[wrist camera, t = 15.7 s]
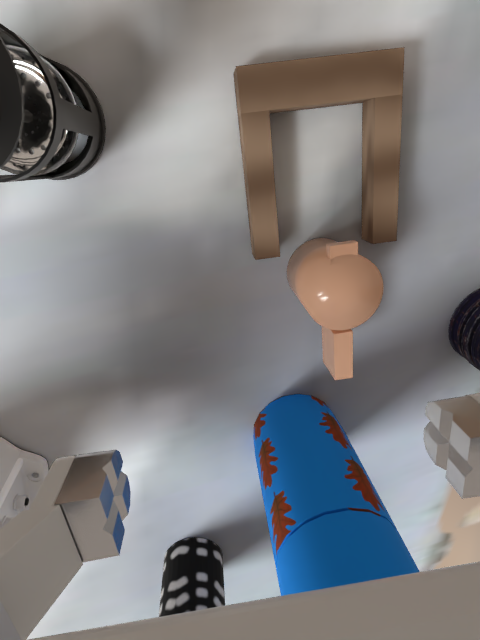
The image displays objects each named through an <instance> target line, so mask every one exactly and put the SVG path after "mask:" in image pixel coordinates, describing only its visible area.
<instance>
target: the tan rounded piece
mask: <svg viewBox="0 0 480 640" xmlns="http://www.w3.org/2000/svg"><path fill="white" fill-rule="evenodd" d="M287 280H288V283H289V286H290V288H291V289H292V291H293V292H294V293H295V295H296V296H297V298H298V299H299V300H300V302H301V303H302V304H303V306H304V307H305V309H306V310H307V311H308V313H309V314H310V315H311V317H312V318H313V319H314V320H315V321H316V322H317V323H318V324H319V325H321V326H322V348H323V362H324V364H325V365H326V367H327V368H328V370H329V372H330V373H331V375H332V376H333V378H334V380H340V379H347V378H353V331H352V330H351V328H355V327H357V326H359V325H361V324H362V323H364V322H365V321H367V320H368V319H369V318H370V317H371V316H372V315H373V314H374V312H375V311H376V310H377V308H378V306H379V304H380V302H381V299H382V295H383V280H382V276H381V274H380V272H379V270H378V268H377V267H376V266H375V265H374V264H373V263H372V262H371V261H370V260H368V259H367V258H365V257H363V256H361V255H359V254H358V242H357V241H355V240H351V241H343V242H336V241H334V240H332V239H328V238H316V239H312V240H309V241H307V242H305V243H304V244H302V245H301V246H300V247H298V248H297V249H296V250H295V252H294V253H293V254H292V256H291V258H290V260H289V263H288V266H287Z"/></svg>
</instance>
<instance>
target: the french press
mask: <svg viewBox="0 0 480 640" xmlns="http://www.w3.org/2000/svg"><path fill="white" fill-rule="evenodd" d="M70 89H71V90H72V91H73V92H74V93H75V94H76V95H77V96H78V98H79V99H80V100H81V102H82V104H83V106H84V108H85V109H83V108H81V107H79V106H77V105H76V103H75V100H74V96H73V94H72V92H71V90H70ZM105 130H106V128H105V120H104V115H103V112H102V109H101V105H100V103H99V101H98V99H97V97H96V95H95V94H94V92H93V91H92V89H91V88H90V87H89V85H88V84H87V83H86V82H85V81H84V80H83V79H82V78H81V77H80V76H79V75H78V74H76V73H75V72H73V71H72V70H71V69H69V68H68V67H66V66H64V65H61V64H59V63H57V62H54V61H53V60H50V59H48V58H46V57H44V56H42V55H40V54H39V53H37V52H36V51H35V50H34V49H33V48H32V47H31V46H30V45H29V44H28V43H27V42H26V41H24V40H23V39H22V38H21V37H19V36H18V35H16V34H15V33H13V32H12V31H11V30H9V29H8V28H6V27H5V26H3V25H2V24H0V168H1V169H3V170H5V171H8V172H11V173H13V174H18V175H0V182H12V181H24V180H36V179H52V180H66V179H70V178H75V177H77V176H79V175H81V174H83V173H85V172H86V171H87V170H89V169H90V168H91V167H92V166H93V165H94V163H95V162H96V161H97V160H98V158H99V156H100V154H101V152H102V149H103V145H104V141H105ZM78 133H81V134H85V135H89V136H88V140H87V144H86V146H85V148H84V150H83V151H82V152H81V154H80V155H79V156H78V157H76V158H75V159H74V160H72V161H70V162H68V163H66V164H63V163H64V162H65V161H66V160H67V159H68V157H69V156H70V155H71V153H72V151H73V149H74V147H75V145H76V142H77V138H78Z"/></svg>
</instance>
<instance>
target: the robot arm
mask: <svg viewBox="0 0 480 640" xmlns="http://www.w3.org/2000/svg"><path fill="white" fill-rule="evenodd" d="M425 415H426V417H427V418H428V419H429V420H430V422H429V423H428V424H427V426H426V427H425V428H424V443H425V447H426V450H427V452H428V454H429V456H430V458H431V459H432V461H433V462H434V463H435V465H437V466H439V467H441V468H443V469H445V470H447V471H446V479H447V480H448V481H449V483H450V484H451V485H452V486H453V488H454V489H455V490H456V491H457V493H458V494H459V495H460V496H461V498H462V499H463V498H470V497H477V496H480V393H475V394H470V395H465V396H462V397H455V398H449V399H443V400H437V401H430V402H428V404H427V406H426V410H425ZM122 464H123V461H122V458H121V455H120V452H119V451H117V450H110V451H103V452H95V453H88V454H80V455H74V456H67V457H60V458H57V459H56V460H55V461H54V462H53V464H52V465H51V467H50V469H49V470H48V463H47V461H46V459H45V458H43V457H42V456H40V455H37V454H34V453H31V452H27V451H24V450H21V449H19V448H17V447H15V446H14V445H12V444H11V443H10V442H8V441H7V440H5V439H3V438H2V437H0V640H26V639H27V637H28V636H29V635H30V633H31V632H32V631H33V629H34V628H35V627H36V625H37V624H38V623H39V621H40V620H41V619H42V618H43V616H44V615H45V614H46V612H47V611H48V610H49V608H50V607H51V606H52V604H53V603H54V602H55V601H56V599H57V598H58V597H59V595H60V594H61V593H62V591H63V590H64V589H65V587H66V586H67V585H68V583H69V582H70V581H71V580H72V578H73V577H74V576H75V574H76V573H77V572H78V570H79V569H80V568H81V566H82V565H83V563H82V562H87V561H92V560H97V559H103V558H108V557H113V556H118V555H119V554H120V549H121V545H122V540H123V536H124V531H125V529H124V526H123V523H122V520H123V519H124V518H125V517H126V516H127V515H128V512H129V507H130V486H129V481H128V477H127V475H126V474H124V473H123V472H121V467H122ZM35 472H36V473H35ZM37 473H38V474H37ZM29 640H480V562H475V563H469V564H463V565H457V566H451V567H446V568H440V569H434V570H428V571H422V572H417V573H411V574H405V575H399V576H393V577H388V578H382V579H376V580H370V581H364V582H359V583H353V584H347V585H341V586H335V587H330V588H324V589H318V590H312V591H307V592H301V593H295V594H289V595H283V596H278V597H272V598H266V599H260V600H254V601H249V602H243V603H237V604H231V605H225V606H220V607H214V608H208V609H202V610H196V611H191V612H185V613H179V614H173V615H168V616H162V617H156V618H150V619H144V620H139V621H133V622H127V623H121V624H116V625H110V626H104V627H98V628H92V629H87V630H81V631H75V632H69V633H64V634H58V635H52V636H46V637H40V638H35V639H29Z"/></svg>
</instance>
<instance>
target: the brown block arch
mask: <svg viewBox="0 0 480 640" xmlns="http://www.w3.org/2000/svg"><path fill="white" fill-rule="evenodd" d="M403 70H404V47H403V48H394V49H385V50H376V51H368V52H359V53H350V54H341V55H332V56H324V57H315V58H306V59H297V60H288V61H279V62H271V63H262V64H253V65H244V66H236V69H235V72H234V82H235V92H236V102H237V111H238V121H239V131H240V140H241V150H242V160H243V169H244V179H245V189H246V198H247V208H248V218H249V227H250V237H251V247H252V254H253V256H254V258H255V259H256V260H258V259H265V258H273V257H280V248H279V234H278V221H277V208H276V195H275V181H274V168H273V155H272V142H271V128H270V115H269V114H271V113H279V112H288V111H296V110H305V109H313V108H321V107H330V106H338V105H347V104H355V103H363V112H362V239H363V240H365V241H367V242H369V243H372V244H376V243H384V242H391V241H396V240H397V216H398V191H399V167H400V143H401V118H402V94H403Z"/></svg>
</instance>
